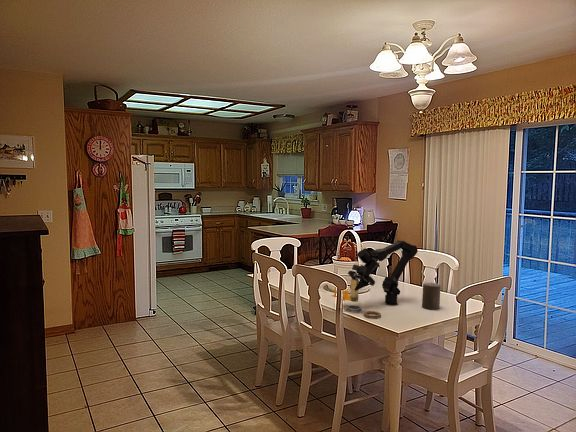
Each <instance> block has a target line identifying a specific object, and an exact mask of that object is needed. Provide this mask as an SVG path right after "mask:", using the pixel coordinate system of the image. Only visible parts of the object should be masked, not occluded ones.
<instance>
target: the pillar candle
mask: <svg viewBox="0 0 576 432" xmlns="http://www.w3.org/2000/svg"><path fill="white" fill-rule="evenodd" d="M421 299H422V301H421V308H423V309H424V310H425V309H426V310H430V311H438V310H440V305H441V284H440V283H435V282H424V283H423V284H422V298H421Z"/></svg>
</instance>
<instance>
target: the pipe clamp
mask: <svg viewBox="0 0 576 432" xmlns="http://www.w3.org/2000/svg"><path fill="white" fill-rule="evenodd" d="M344 290H345V291H343V290H342V293H343V300H342V301H344V302H346V301H345V300H348V301H350V294H349V289H344ZM335 296H336V287H335V286H334V297H335Z"/></svg>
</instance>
